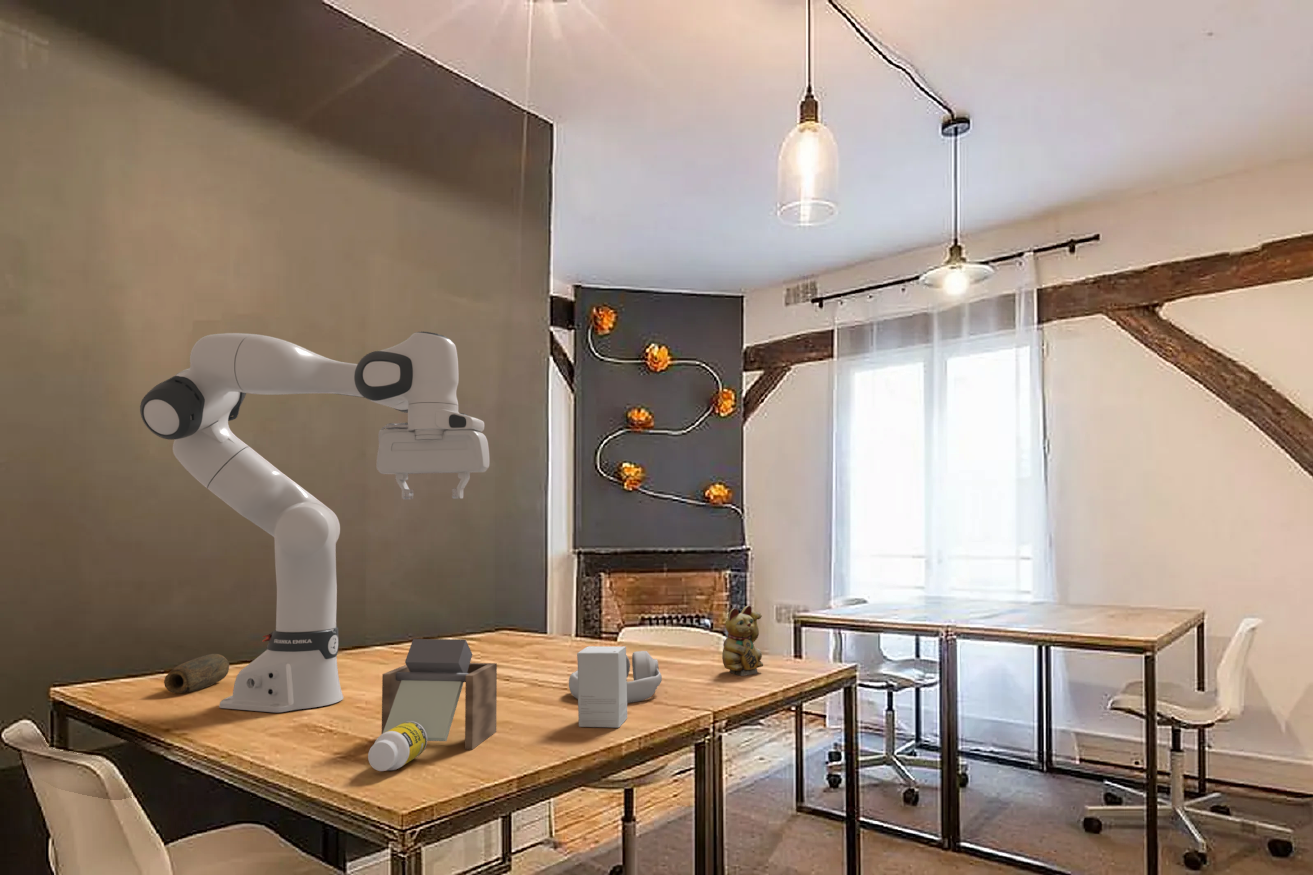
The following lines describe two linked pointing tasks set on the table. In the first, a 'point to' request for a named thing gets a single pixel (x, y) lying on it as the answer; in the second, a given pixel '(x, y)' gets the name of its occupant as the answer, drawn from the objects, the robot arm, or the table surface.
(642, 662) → the headphones
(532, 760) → the table surface
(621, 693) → the supplement box
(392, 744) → the supplement bottle
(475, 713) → the walnut frame
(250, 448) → the robot arm
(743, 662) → the decorative figurine
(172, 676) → the brown hollow rounded cylinder
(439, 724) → the trapdoor
